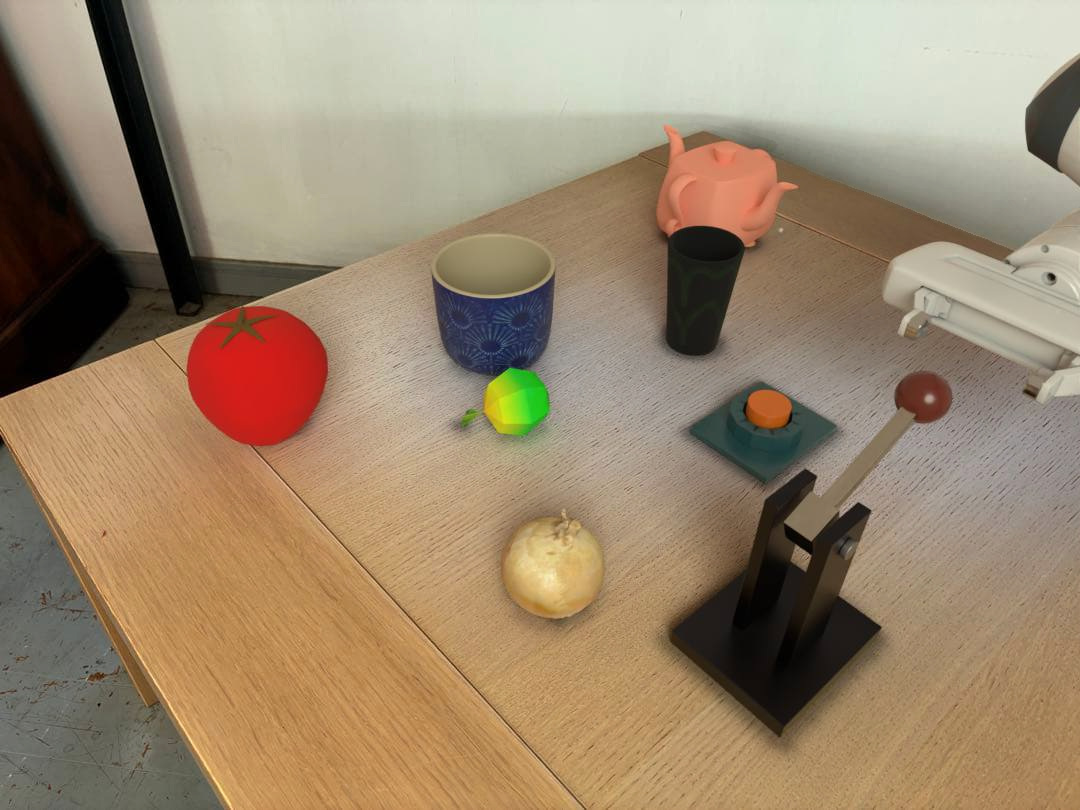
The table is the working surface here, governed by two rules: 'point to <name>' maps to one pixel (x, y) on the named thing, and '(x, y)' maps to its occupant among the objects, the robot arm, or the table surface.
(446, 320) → the planter
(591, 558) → the onion
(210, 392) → the tomato
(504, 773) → the table surface
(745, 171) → the teapot
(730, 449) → the button box
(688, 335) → the cup
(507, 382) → the apple
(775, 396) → the button
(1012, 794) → the table surface
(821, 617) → the bracket
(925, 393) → the lever
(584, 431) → the table surface
